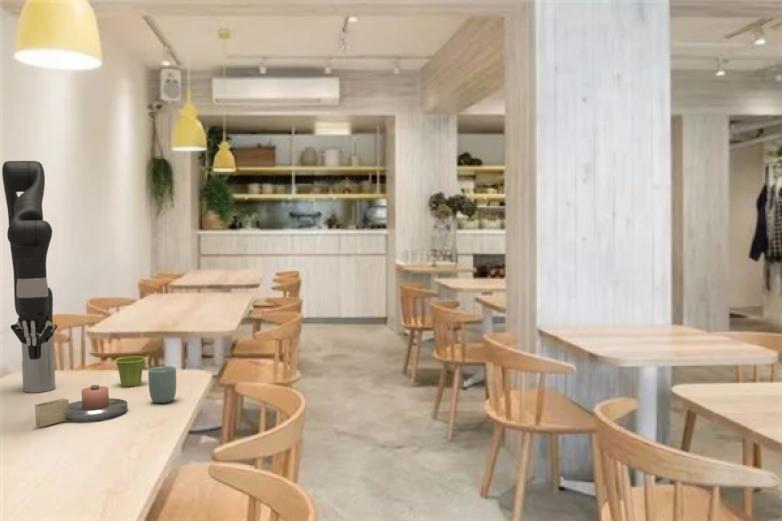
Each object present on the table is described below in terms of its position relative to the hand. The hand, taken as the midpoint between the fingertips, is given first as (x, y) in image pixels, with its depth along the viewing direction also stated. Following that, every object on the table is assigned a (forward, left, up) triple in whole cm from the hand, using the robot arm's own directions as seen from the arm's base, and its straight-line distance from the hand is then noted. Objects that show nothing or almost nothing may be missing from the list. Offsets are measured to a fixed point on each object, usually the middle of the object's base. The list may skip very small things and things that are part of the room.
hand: (35, 359), depth 189 cm
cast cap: (+5, +14, -16) cm, 21 cm away
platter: (+4, +10, -17) cm, 20 cm away
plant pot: (-17, +41, -18) cm, 48 cm away
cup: (+10, +33, -18) cm, 39 cm away
